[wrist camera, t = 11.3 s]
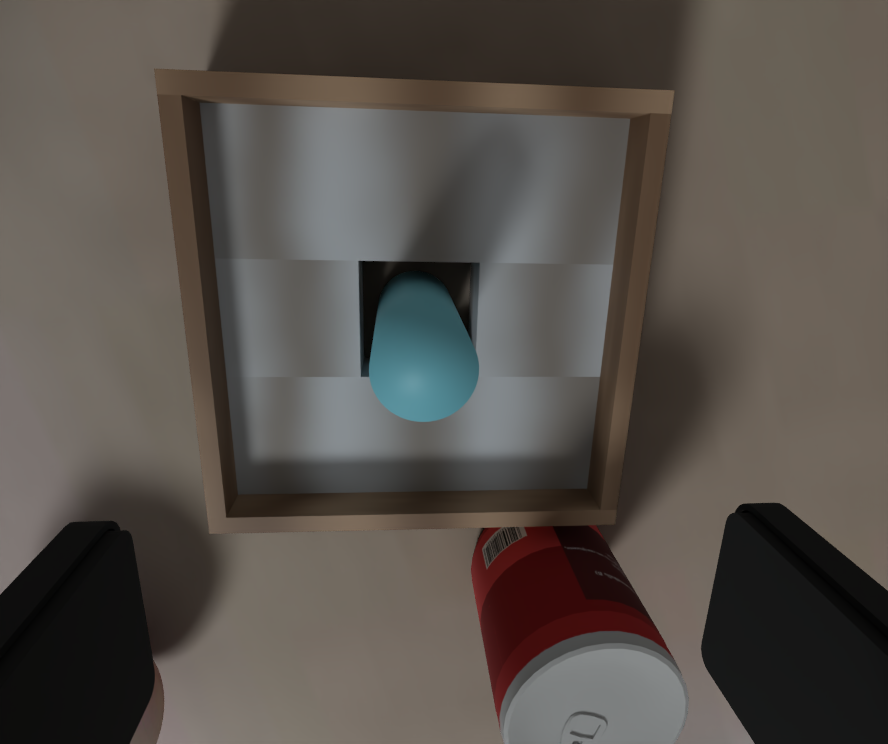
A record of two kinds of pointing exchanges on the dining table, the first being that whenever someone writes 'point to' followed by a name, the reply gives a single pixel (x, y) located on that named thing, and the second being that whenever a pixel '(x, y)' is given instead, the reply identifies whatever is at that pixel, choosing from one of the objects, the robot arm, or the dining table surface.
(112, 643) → the robot arm
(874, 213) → the dining table surface
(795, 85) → the dining table surface
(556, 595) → the canned food
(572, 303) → the bore box
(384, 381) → the peg
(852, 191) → the dining table surface
